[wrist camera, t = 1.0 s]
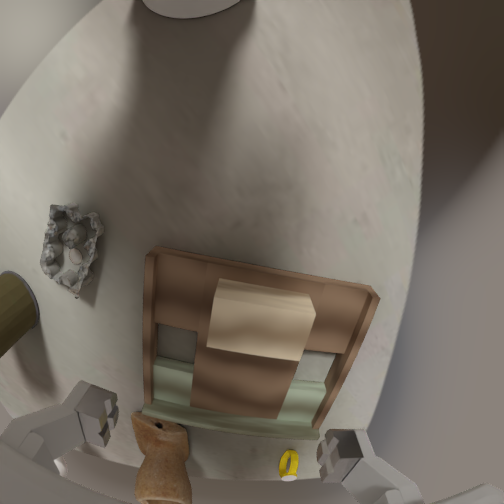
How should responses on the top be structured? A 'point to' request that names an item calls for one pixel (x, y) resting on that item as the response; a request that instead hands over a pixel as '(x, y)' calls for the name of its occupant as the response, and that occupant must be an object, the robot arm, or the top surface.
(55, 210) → the egg carton
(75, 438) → the robot arm
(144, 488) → the clay pipe
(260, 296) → the block
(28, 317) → the canister
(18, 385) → the top surface
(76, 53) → the top surface
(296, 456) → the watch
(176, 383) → the brown shallow open piece
